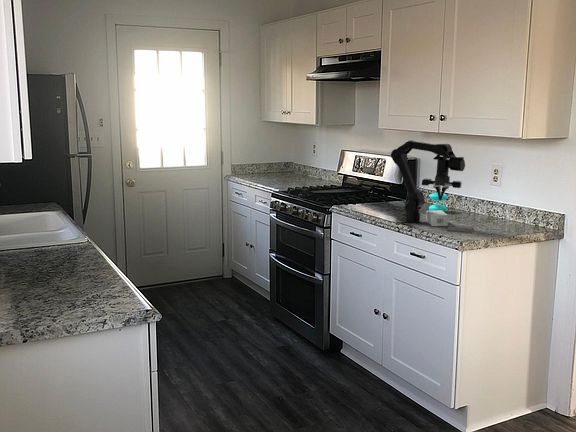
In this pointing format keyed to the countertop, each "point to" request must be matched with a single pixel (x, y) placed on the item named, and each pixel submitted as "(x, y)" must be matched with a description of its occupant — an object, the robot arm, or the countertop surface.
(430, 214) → the skincare box
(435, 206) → the donuts
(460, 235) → the countertop surface
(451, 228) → the mat
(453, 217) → the countertop surface
